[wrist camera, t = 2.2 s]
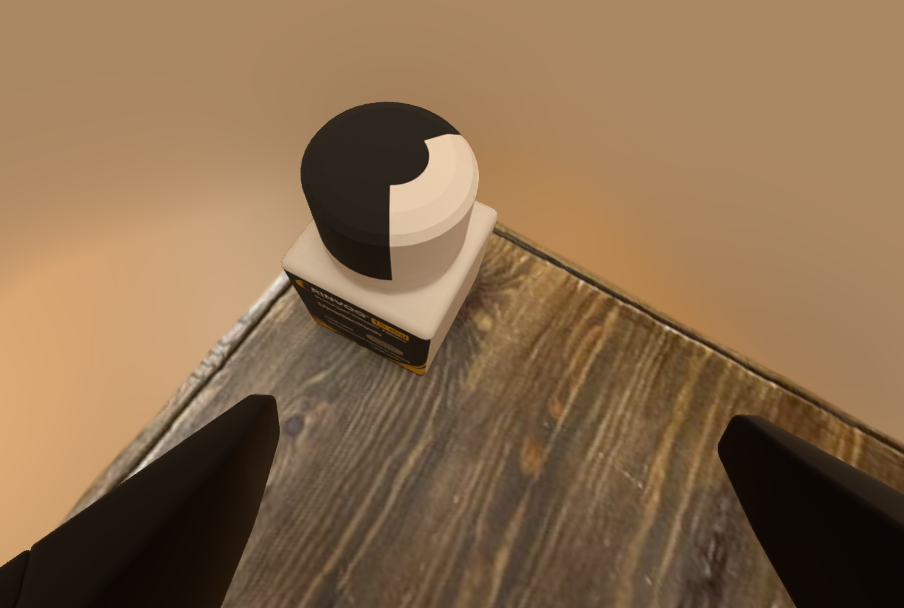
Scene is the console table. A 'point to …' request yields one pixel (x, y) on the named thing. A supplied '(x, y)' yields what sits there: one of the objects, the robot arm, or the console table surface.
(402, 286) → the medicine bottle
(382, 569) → the console table surface
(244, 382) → the console table surface
